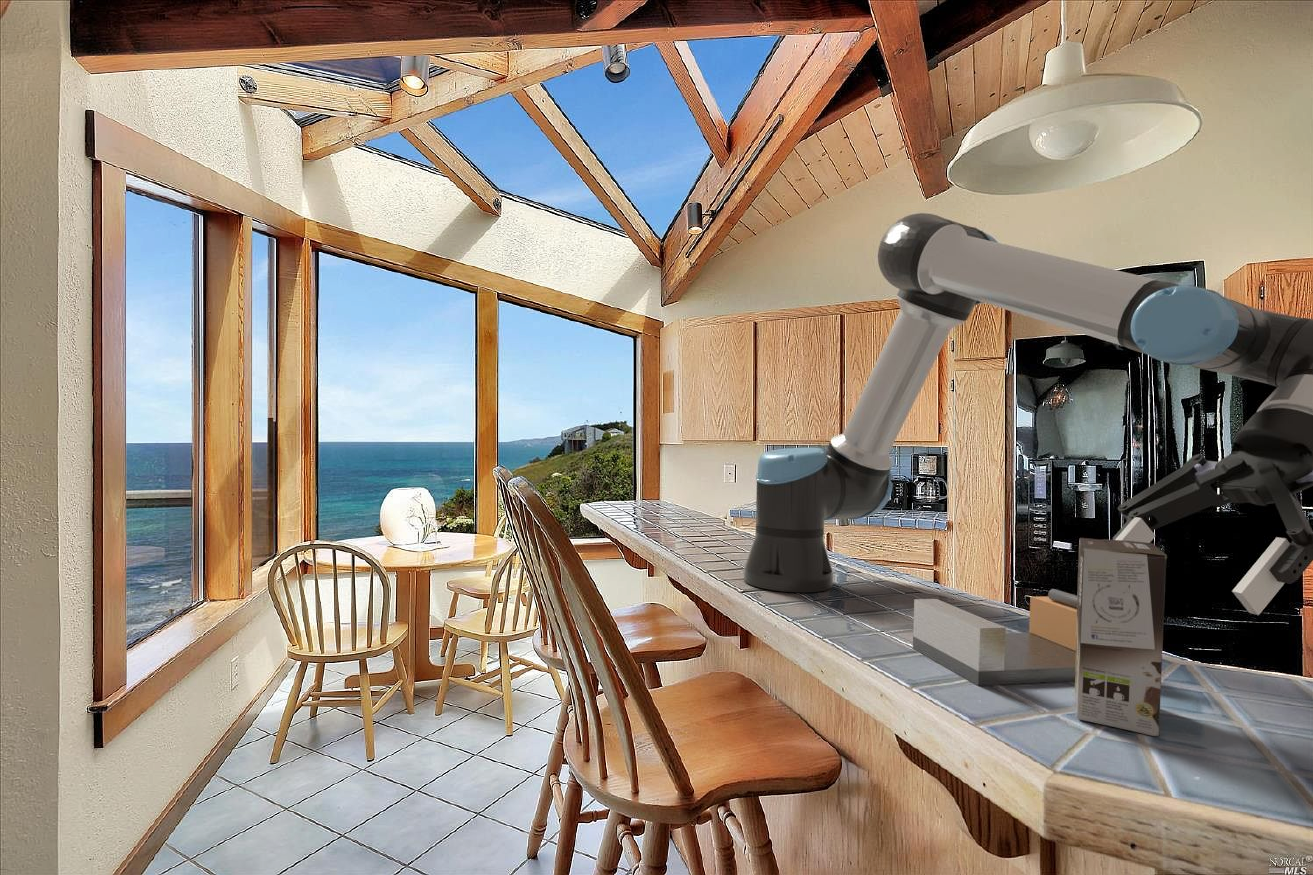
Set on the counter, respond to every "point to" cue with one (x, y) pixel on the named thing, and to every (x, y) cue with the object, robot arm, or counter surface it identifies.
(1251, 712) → the counter surface
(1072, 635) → the block
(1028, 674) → the vise bed
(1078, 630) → the coffee box
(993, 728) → the counter surface
